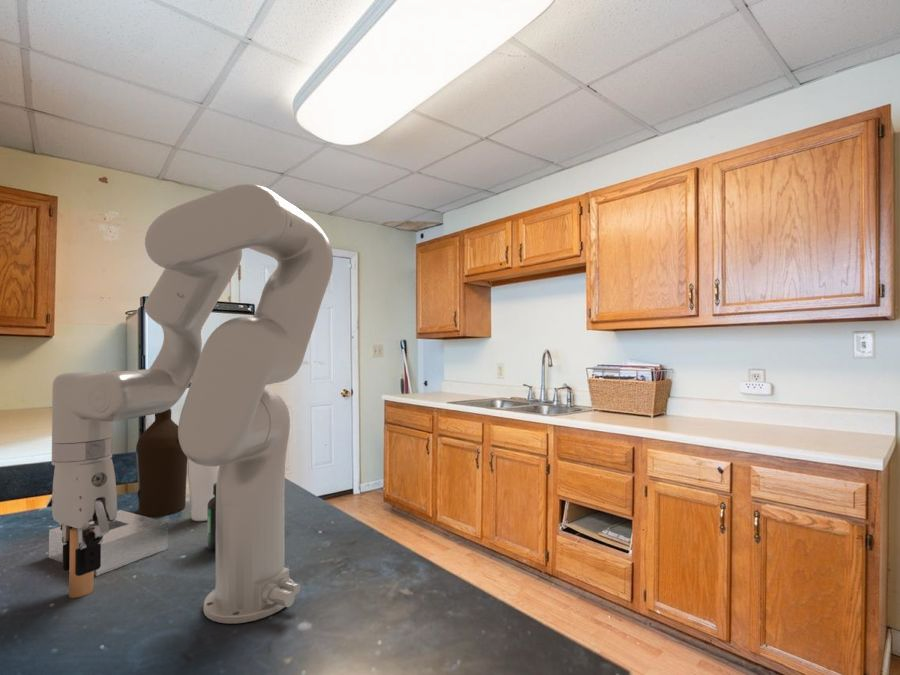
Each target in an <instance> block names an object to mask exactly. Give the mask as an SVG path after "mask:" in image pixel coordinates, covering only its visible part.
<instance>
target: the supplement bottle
mask: <svg viewBox="0 0 900 675" xmlns="http://www.w3.org/2000/svg"><path fill="white" fill-rule="evenodd" d="M213 495H215V496H214V497H213V498H212V499H211V500H210V501H209V502H208V506H207V520H206V522H207V523H206V524H207V526H206V528H207V530H206V532H207V537H206V541H207V542H206V543H207V546H206V547H207V550H209V551H210V552H212V553H216V483H215V484H214V485H213Z"/></svg>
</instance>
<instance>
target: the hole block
mask: <svg viewBox="0 0 900 675" xmlns="http://www.w3.org/2000/svg"><path fill="white" fill-rule="evenodd" d="M89 524H94V521H91V522H89ZM168 524H169V523H168V522H167V521H164V520H161V519H157V518H153V517H145V516H142V515H140V514H139V513H138V514H136V513H134V512H131V511H130V512H129V511H127V510H126V511H125V510H122V509H119V510H118V509H117V518H116V519H115V520H114V521H112V522H108V525H109V529H110V530H109V532H108V533H107V534H105V535H104V536H103V541H102V543H101V566H100V568H99V569H97V570H94V576H95V577H98V576H100V575H103V574H105V573H108V572H110V571H113V570H116V569H119V568H121V567H124V566H126V565H129V564H132V563H134V562H136V561H137V562H138V561H139V560H143V559H145V558H147V557H150V556H153V555H156V554H158V553H160V552H163V551H166V550H167V549H168V548H169V547H168V540H169V539H168V537H169V536H168V533H169V531H168V529H169V527H168V526H169V525H168ZM60 528H61V526H58V527H55V528H51V529H49V530H48V558H49V559H51V560H53V559H54V561H57V562H59V563H61V564H63V545H65V544H63V543H62V530H61V529H60ZM66 544H67V543H66Z"/></svg>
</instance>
